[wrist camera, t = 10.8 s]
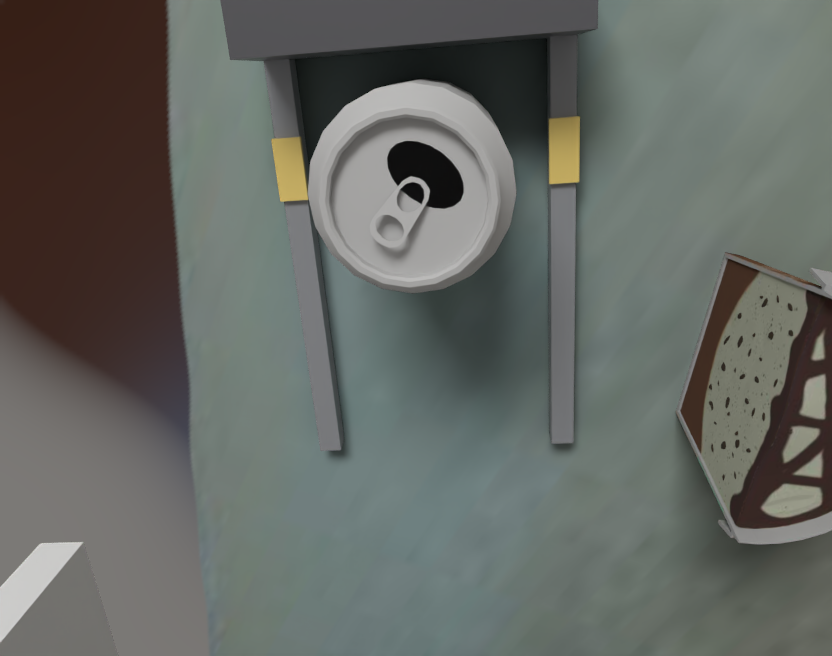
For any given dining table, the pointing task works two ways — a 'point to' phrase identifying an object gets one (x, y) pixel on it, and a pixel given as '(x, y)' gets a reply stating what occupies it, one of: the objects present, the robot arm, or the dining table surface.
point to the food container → (764, 402)
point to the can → (412, 186)
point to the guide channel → (404, 30)
